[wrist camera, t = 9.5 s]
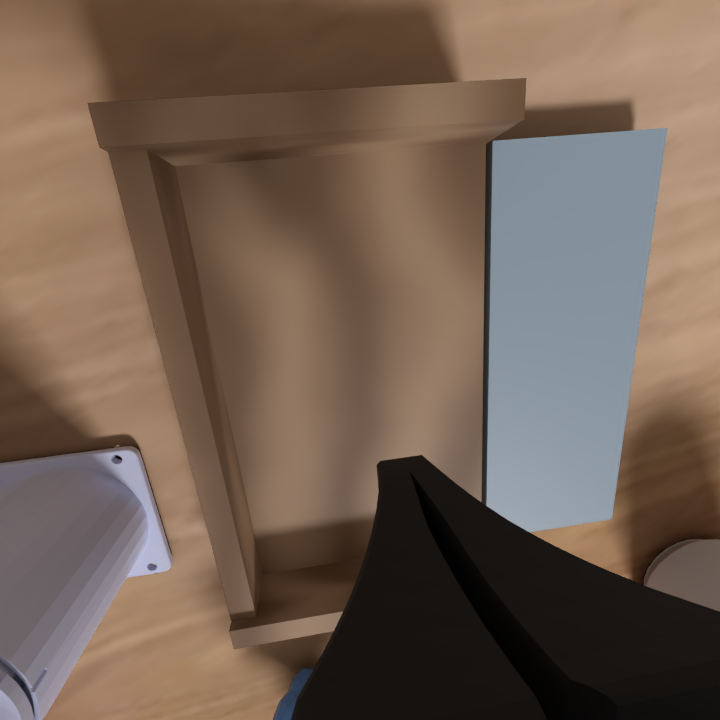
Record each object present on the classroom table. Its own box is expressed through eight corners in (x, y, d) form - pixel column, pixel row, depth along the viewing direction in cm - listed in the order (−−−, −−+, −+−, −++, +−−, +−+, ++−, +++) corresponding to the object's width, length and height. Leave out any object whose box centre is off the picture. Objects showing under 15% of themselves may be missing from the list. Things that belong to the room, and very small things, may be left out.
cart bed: (250, 572, 22) (233, 649, 18) (151, 144, 15) (87, 102, 11) (470, 536, 23) (505, 600, 19) (471, 123, 16) (526, 78, 12)
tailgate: (485, 539, 22) (611, 519, 22) (492, 140, 15) (667, 127, 16) (480, 529, 22) (601, 510, 23) (484, 146, 16) (651, 133, 17)
